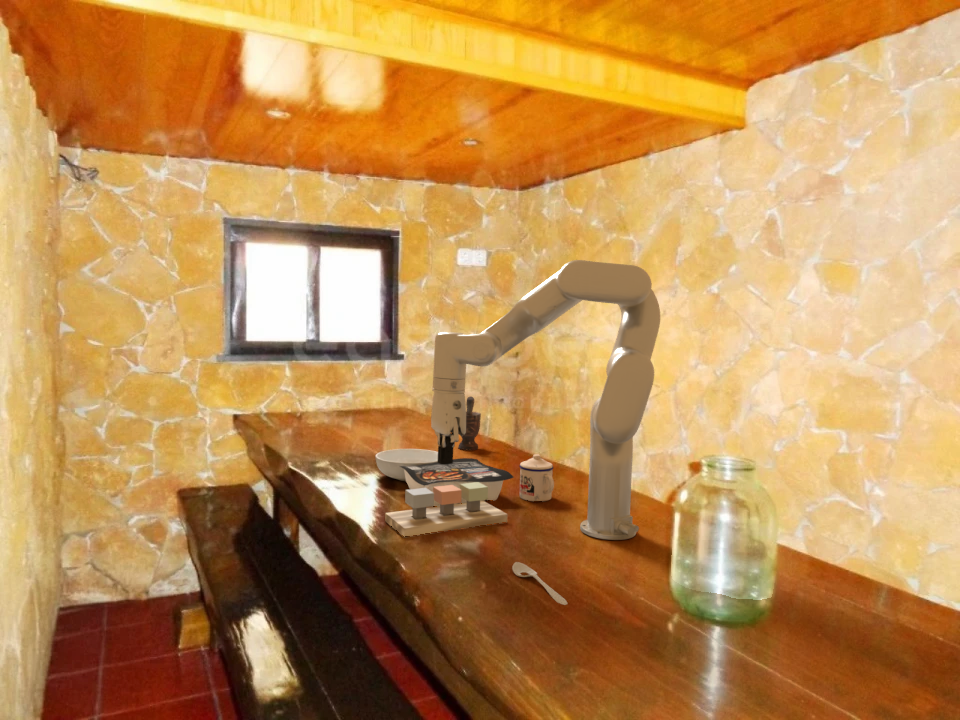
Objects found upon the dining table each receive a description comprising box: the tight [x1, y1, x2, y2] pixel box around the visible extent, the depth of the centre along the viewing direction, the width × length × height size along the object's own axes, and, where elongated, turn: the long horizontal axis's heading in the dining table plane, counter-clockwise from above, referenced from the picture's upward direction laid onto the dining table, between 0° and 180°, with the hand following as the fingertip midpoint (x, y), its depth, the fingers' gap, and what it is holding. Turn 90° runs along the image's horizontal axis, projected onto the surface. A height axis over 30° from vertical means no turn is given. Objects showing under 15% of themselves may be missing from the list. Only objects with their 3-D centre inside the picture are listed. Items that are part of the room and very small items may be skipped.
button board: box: [384, 500, 508, 538], centre depth 154 cm, size 12×26×2 cm, turn 118°
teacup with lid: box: [519, 453, 555, 502], centre depth 175 cm, size 12×9×12 cm
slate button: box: [404, 488, 434, 518], centre depth 150 cm, size 5×5×6 cm
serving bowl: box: [375, 448, 438, 482], centre depth 194 cm, size 21×21×7 cm
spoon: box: [511, 561, 568, 606], centre depth 118 cm, size 4×21×2 cm, turn 26°
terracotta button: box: [433, 485, 462, 515], centre depth 154 cm, size 5×5×6 cm
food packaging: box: [399, 457, 515, 506], centre depth 177 cm, size 25×8×23 cm
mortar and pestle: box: [457, 396, 482, 451], centre depth 237 cm, size 12×9×20 cm
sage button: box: [460, 482, 488, 511], centre depth 157 cm, size 5×5×6 cm
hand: (445, 463), depth 153 cm, fingers closed
